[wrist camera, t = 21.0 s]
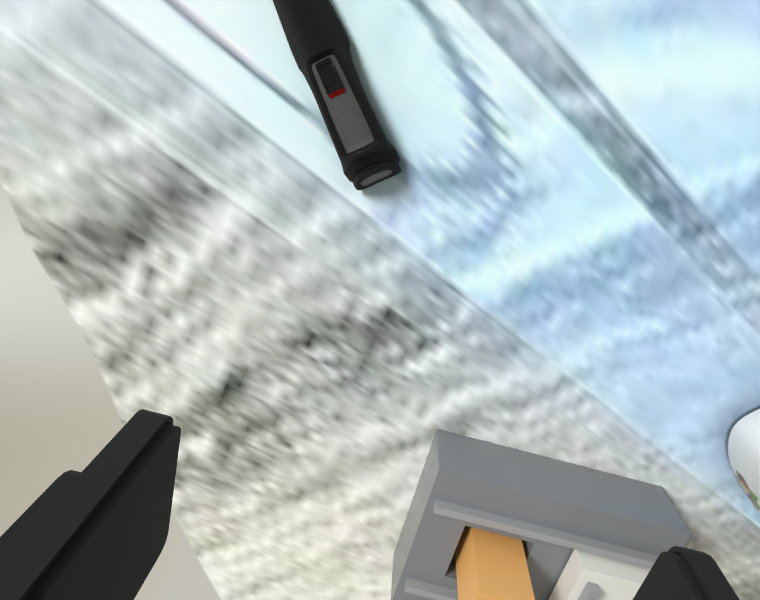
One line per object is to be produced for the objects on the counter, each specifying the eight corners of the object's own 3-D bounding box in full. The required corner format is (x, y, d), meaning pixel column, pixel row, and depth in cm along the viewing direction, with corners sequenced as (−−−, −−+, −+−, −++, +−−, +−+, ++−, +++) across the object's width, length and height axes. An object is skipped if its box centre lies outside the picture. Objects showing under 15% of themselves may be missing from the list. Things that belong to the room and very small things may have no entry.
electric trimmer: (305, -76, 31) (292, -95, 28) (406, 170, 35) (403, 175, 32) (251, -45, 32) (232, -60, 29) (356, 192, 36) (349, 199, 33)
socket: (662, 487, 42) (697, 543, 37) (595, 605, 48) (617, 670, 42) (437, 429, 42) (439, 477, 37) (393, 554, 47) (389, 612, 42)
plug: (512, 500, 44) (543, 635, 33) (496, 535, 46) (520, 676, 34) (467, 488, 44) (482, 619, 33) (452, 523, 45) (462, 660, 34)
